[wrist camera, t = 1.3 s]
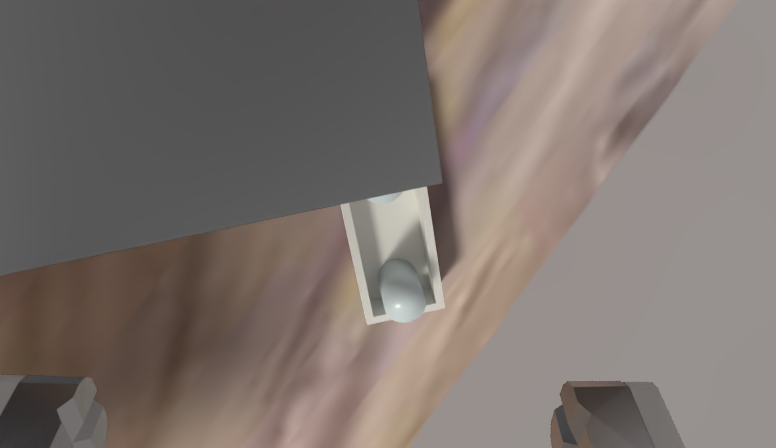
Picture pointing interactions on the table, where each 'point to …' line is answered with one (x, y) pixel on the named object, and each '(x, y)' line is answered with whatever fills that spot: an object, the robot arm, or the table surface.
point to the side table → (201, 117)
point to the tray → (394, 255)
